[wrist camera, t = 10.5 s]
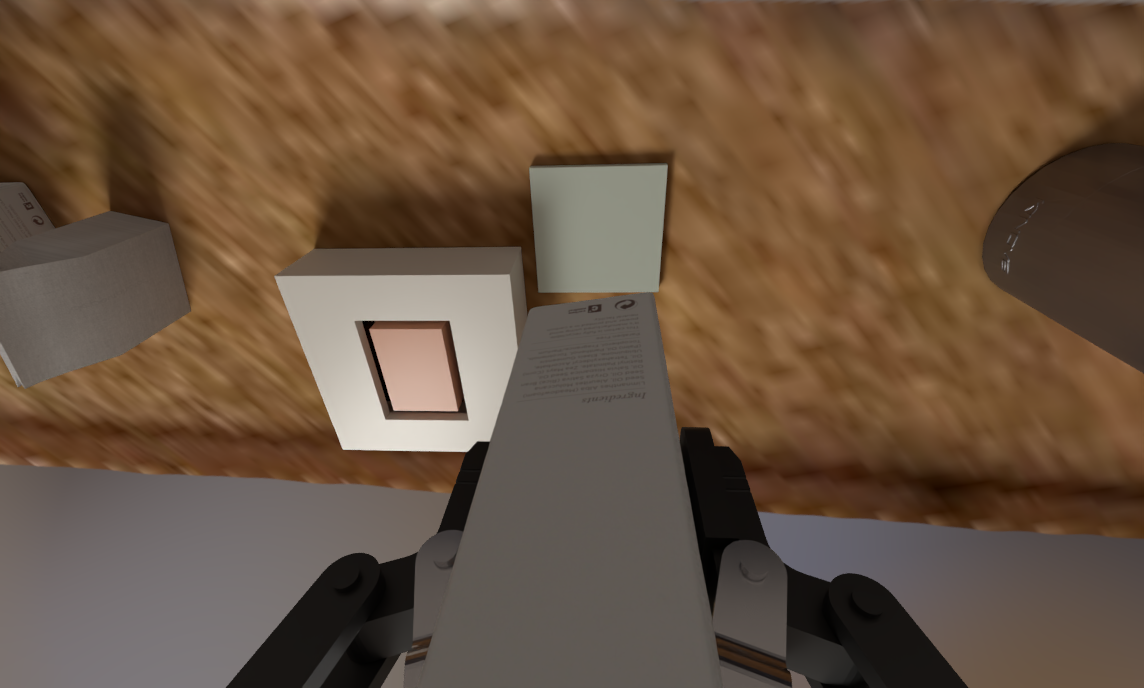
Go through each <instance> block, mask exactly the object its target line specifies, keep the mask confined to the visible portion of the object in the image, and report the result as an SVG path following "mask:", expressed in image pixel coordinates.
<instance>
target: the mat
mask: <svg viewBox="0 0 1144 688" xmlns="http://www.w3.org/2000/svg"><path fill="white" fill-rule="evenodd" d="M667 169H668V165H667V163H650V164H602V165H554V166H530V168H529V173H530V186H531V200H532V213H533V226H534V240H535V253H536V266H537V280H538V293H547V292H658V290H659V276H660V263H661V250H662V236H663V223H664V209H665V196H666V183H667Z"/></svg>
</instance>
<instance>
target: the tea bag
mask: <svg viewBox="0 0 1144 688" xmlns="http://www.w3.org/2000/svg"><path fill="white" fill-rule="evenodd" d="M190 311H191V309H190V305H189V301H188V297H187V294H186V290H185V286H184V282H183V278H182V274H181V270H180V266H179V262H178V259H177V255H176V251H175V247H174V243H173V239H172V235H171V231H170V227H169V223H164V222H160V221H155V220H150V219H146V218H141V217H137V216H132V215H127V214H123V213H118V212H113V211H109V212H105V213H102V214H99V215H96V216H93V217H90V218H87V219H84V220H81V221H77V222H74V223H71V224H68V225H65V226H62V227H59V228H56V229H53V230H49V231H46V232H43V233H40V234H37V235H34V236H31V237H28V238H25V239H21V240H18V241H15V242H14V243H12V244H11V245H10V246H9V247H7V248H6V249H5V250H4V251H2V252H1V253H0V354H1V356H2V358H3V360H4V362H5V364H6V365H7V367H8V369H9V371H10V373H11V375H12V377H13V378H14V380H15V382H16V384H17V386H18V387H20V386H21V385H23V387H24V388H25V389H26V388H28V387H30V386H33V385H35V384H37V383H39V382H42V381H44V380H47V379H50V378H53V377H56V376H58V375H61V374H64V373H67V372H70V371H73V370H76V369H79V368H82V367H85V366H88V365H92V364H95V363H98V362H101V361H104V360H107V359H110V358H113V357H116V356H120V355H122V354H124V353H125V352H127V351H128V350H130V349H132V348H133V347H135V346H136V345H138V344H140V343H141V342H143V341H144V340H146V339H148V338H149V337H151V336H152V335H154V334H155V333H157V332H159V331H160V330H162V329H163V328H165V327H167V326H168V325H170V324H171V323H173V322H175V321H176V320H178V319H179V318H181V317H182V316H184V315H186V314H187V313H189V312H190Z"/></svg>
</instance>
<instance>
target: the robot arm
mask: <svg viewBox="0 0 1144 688" xmlns="http://www.w3.org/2000/svg"><path fill="white" fill-rule="evenodd" d="M982 259H983V264H984V269H985V271H986V273H987V275H988V277H989V278H990V280H991V281H992V282H993V283H994V284H996V285H997V286H998V287H999V288H1000V289H1002V290H1004V291H1005V292H1007V293H1009V294H1010V295H1012V296H1014V297H1016V298H1017V299H1019V300H1021V301H1022V302H1024V303H1026V304H1027V305H1029V306H1031V307H1032V308H1034V309H1036V310H1038V311H1039V312H1041V313H1043V314H1044V315H1046V316H1047V317H1049V318H1050V319H1052V320H1054V321H1056V322H1057V323H1059V324H1061V325H1062V326H1064V327H1066V328H1067V329H1069V330H1071V331H1073V332H1074V333H1076V334H1078V335H1079V336H1081V337H1083V338H1084V339H1086V340H1088V341H1089V342H1091V343H1093V344H1095V345H1096V346H1098V347H1100V348H1101V349H1103V350H1105V351H1106V352H1108V353H1110V354H1112V355H1113V356H1115V357H1117V358H1118V359H1120V360H1122V361H1123V362H1125V363H1127V364H1128V365H1130V366H1132V367H1134V368H1135V369H1137V370H1139V371H1140V372H1142V373H1144V146H1139V145H1133V144H1127V143H1109V144H1102V145H1097V146H1092V147H1087V148H1084V149H1082V150H1079V151H1076V152H1074V153H1071V154H1068V155H1066V156H1064V157H1062V158H1060V159H1058V160H1056V161H1054V162H1053V163H1051V164H1049V165H1047V166H1045V167H1044V168H1042V169H1041V170H1040V171H1038V172H1037V173H1036V174H1034V175H1033V176H1031V177H1030V178H1029V179H1027V180H1026V181H1025V182H1024V183H1023V184H1022V185H1021V186H1020V187H1019V188H1018V189H1017V190H1015V191H1014V192H1013V193H1012V194H1011V195H1010V196H1009V198H1008V199H1007V200H1006V202H1005V203H1004V204H1003V205H1002V207H1001V208H1000V209H999V210H998V212H997V214H996V215H995V217H994V219H993V221H992V222H991V224H990V226H989V228H988V231H987V234H986V237H985V240H984V243H983V254H982ZM494 427H495V426H494ZM493 430H494V429H493ZM490 440H491V439H490ZM489 444H490V441H477V442H476V443H475V444H474V445H473V446H472V448H471V449H470V450H469V451H468V452H467V453H466V454H465V457H464V460H463V463H462V466H461V468H460V472H459V474H458V477H457V480H456V484H455V485H454V488H453V491H452V494H451V497H450V499H449V503H448V505H447V508H446V511H445V514H444V516H443V519H442V522H441V525H440V528H439V530H438V532H437V534H436V535H434V536H432V537H431V538H429V539H428V540H427V541H426V542H425V543H424V544H423V545H422V547H421V548H420V550H419V551H418V552H417V553H415V554H413V555H410V556H407V557H404V558H400V559H397V560H393V561H389V562H386V563H382V564H378V562H377V560H376V559H375V558H374V557H373V556H371V555H369V554H365V553H354V554H350V555H347V556H344V557H342V558H340V559H338V560H337V561H335V562H334V563H332V564H331V565H330V566H329V567H328V568H327V569H326V570H325V571H324V572H323V573H322V574H321V576H320V577H319V578H318V579H317V580H316V581H315V583H314V584H313V585H312V586H311V587H310V588H309V590H308V591H307V592H306V593H305V594H304V596H303V597H302V598H301V599H300V600H299V601H298V603H297V604H296V605H295V606H294V607H293V609H292V610H291V611H290V612H289V613H288V615H287V616H286V617H285V618H284V619H283V620H282V622H281V623H280V624H279V625H278V627H277V628H276V629H275V630H274V631H273V632H272V634H271V635H270V636H269V637H268V638H267V639H266V641H265V642H264V643H263V644H262V645H261V647H260V648H259V649H258V650H257V651H256V653H255V654H254V655H253V656H252V657H251V659H250V660H249V661H248V662H247V663H246V664H245V666H244V667H243V668H242V669H241V670H240V672H239V673H238V674H237V675H236V676H235V677H234V679H233V680H232V681H231V682H230V683H229V685H228V686H227V687H226V688H381V686H382V684H383V683H384V681H385V679H386V678H387V676H388V674H389V673H390V671H391V669H392V667H393V666H394V664H395V663H396V661H397V659H398V658H399V656H400V654H401V653H403V652H407V651H408V652H407V655H406V660H405V669H404V688H417V685H418V682H419V678H420V675H421V672H422V669H423V665H424V662H425V659H426V656H427V652H428V649H429V646H430V642H431V639H432V636H433V632H434V629H435V625H436V622H437V619H438V615H439V612H440V608H441V605H442V601H443V598H444V595H445V591H446V588H447V585H448V582H449V578H450V575H451V572H452V568H453V565H454V562H455V558H456V554H457V551H458V548H459V545H460V542H461V538H462V535H463V532H464V528H465V525H466V521H467V518H468V514H469V511H470V508H471V504H472V501H473V497H474V494H475V491H476V487H477V484H478V481H479V478H480V474H481V471H482V468H483V464H484V460H485V457H486V454H487V451H488V447H489ZM680 447H681V452H682V458H683V463H684V469H685V476H686V481H687V486H688V491H689V497H690V502H691V508H692V514H693V520H694V525H695V531H696V537H697V542H698V548H699V553H700V559H701V564H702V569H703V574H704V579H705V584H706V589H707V594H708V600H709V605H710V610H711V615H712V620H713V626H714V632H715V639H716V645H717V651H718V657H719V663H720V669H721V676H722V682H723V688H792V679H791V674H790V672H789V671H788V670H787V669H790V670H792V671H794V672H797V673H799V674H802V675H804V676H805V677H806V679H807V681H808V682H809V684H810V686H811V688H968V687H967V685H966V684H965V683H964V682H963V681H962V679H961V678H960V677H959V676H958V674H957V673H956V672H955V671H954V670H953V668H952V667H951V666H950V665H949V663H948V662H947V661H946V660H945V658H944V657H943V656H942V655H941V654H940V652H939V651H938V650H937V649H936V647H935V646H934V645H933V644H932V642H931V641H930V640H929V639H928V637H927V636H926V635H925V634H924V633H923V631H922V630H921V629H920V628H919V626H918V625H917V624H916V623H915V622H914V620H913V619H912V618H911V617H910V616H909V614H908V613H907V612H906V611H905V609H904V608H903V607H902V606H901V604H900V603H899V602H898V601H897V599H896V598H895V597H894V596H893V595H892V594H891V593H890V592H889V591H888V590H887V589H886V588H885V587H883V586H882V585H880V584H879V583H878V582H876V581H874V580H872V579H870V578H868V577H865V576H862V575H859V574H852V573H847V574H842V575H839V576H837V577H835V578H834V579H833V580H832V581H831V582H827V581H825V580H822V579H818V578H816V577H812V576H809V575H806V574H803V573H801V572H798V571H796V570H794V569H792V568H791V567H789V566H788V565H786V564H785V563H783V562H782V560H781V559H780V558H779V556H778V555H777V554H776V553H775V552H774V551H773V550H772V549H771V548H770V547H769V545H768V543H767V540H766V537H765V534H764V531H763V528H762V525H761V522H760V518H759V515H758V512H757V509H756V506H755V503H754V500H753V497H752V494H751V493H750V488H749V485H748V481H747V479H746V475H745V472H744V469H743V466H742V463H741V460H740V459H739V458H738V457H737V456H736V455H735V453H734V452H733V451H732V450H731V449H730V448H729V447H723V446H714V443H713V439H712V436H711V432H710V429H709V428H701V427H682V429H681V434H680Z"/></svg>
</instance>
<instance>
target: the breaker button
mask: <svg viewBox="0 0 1144 688" xmlns="http://www.w3.org/2000/svg"><path fill="white" fill-rule="evenodd" d="M369 330H370V333H371V337H372V340H373V343H374V347H375V350H376V353H377V357H378V360H379V363H380V367H381V370H382V373H383V377H384V380H385V383H386V387H387V390H388V393H389V397H390V400H391V403H392V407H393V410H394V411H458V410H459V408H460V405H461V403H462V400H463V398H464V393H463V388H462V382H461V377H460V372H459V367H458V362H457V357H456V351H455V346H454V341H453V336H452V331H451V325H450V321H376V322H375V323H374V324H373V325H372V327H371V328H370V329H369Z"/></svg>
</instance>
